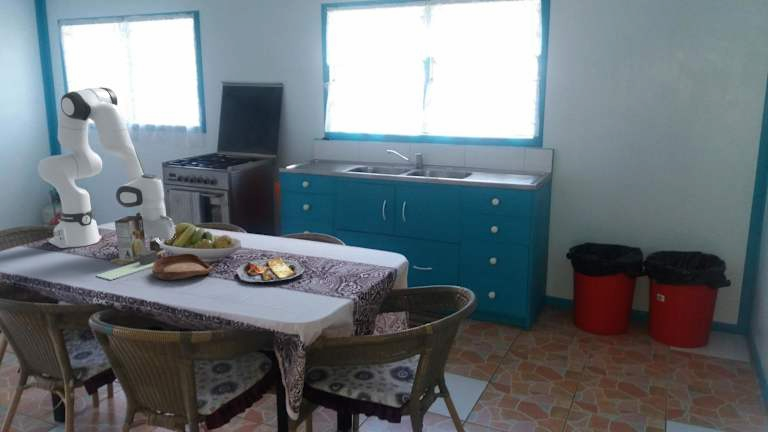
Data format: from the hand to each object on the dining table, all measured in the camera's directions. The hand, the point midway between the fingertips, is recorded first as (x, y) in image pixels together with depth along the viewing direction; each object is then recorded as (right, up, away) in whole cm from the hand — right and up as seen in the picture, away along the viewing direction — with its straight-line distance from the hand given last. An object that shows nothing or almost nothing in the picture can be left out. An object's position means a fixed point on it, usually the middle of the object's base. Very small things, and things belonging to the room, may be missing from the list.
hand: (157, 246), depth 252 cm
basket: (+20, -9, -28) cm, 35 cm away
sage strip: (-2, -8, -23) cm, 24 cm away
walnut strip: (-4, -4, -6) cm, 8 cm away
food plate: (+52, -9, -29) cm, 60 cm away
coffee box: (-6, -4, -9) cm, 12 cm away
